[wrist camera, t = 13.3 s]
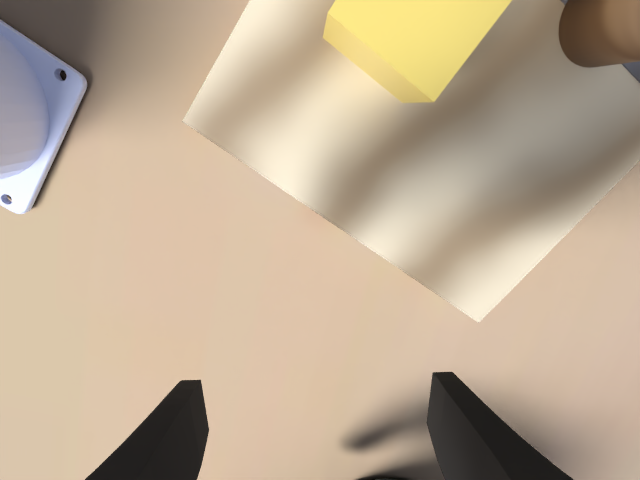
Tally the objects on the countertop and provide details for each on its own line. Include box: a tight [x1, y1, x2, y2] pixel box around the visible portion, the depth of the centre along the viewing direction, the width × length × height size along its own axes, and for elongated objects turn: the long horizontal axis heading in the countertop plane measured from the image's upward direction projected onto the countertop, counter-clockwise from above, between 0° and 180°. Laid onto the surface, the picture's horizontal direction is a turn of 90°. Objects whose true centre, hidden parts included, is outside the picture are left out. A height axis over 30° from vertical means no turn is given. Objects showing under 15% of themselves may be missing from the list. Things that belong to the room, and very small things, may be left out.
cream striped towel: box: [182, 0, 640, 323], centre depth 16 cm, size 19×20×1 cm
